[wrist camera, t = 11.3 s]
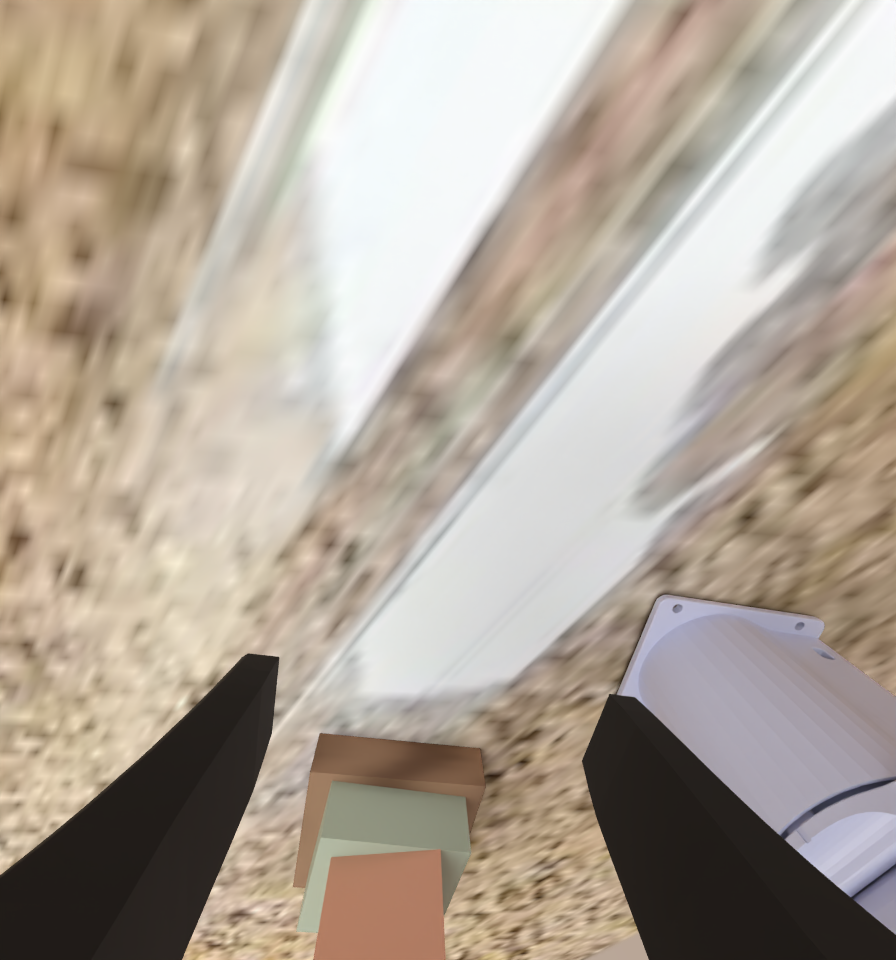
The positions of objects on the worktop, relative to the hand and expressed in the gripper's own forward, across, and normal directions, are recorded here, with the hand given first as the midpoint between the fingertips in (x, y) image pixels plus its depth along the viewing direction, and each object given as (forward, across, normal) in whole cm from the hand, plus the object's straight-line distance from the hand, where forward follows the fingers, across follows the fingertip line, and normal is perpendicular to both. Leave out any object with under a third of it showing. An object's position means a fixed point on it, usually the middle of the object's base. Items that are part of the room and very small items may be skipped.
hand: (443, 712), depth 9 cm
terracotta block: (+6, -1, +17) cm, 18 cm away
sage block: (+8, -1, +18) cm, 20 cm away
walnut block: (+11, -1, +18) cm, 21 cm away
